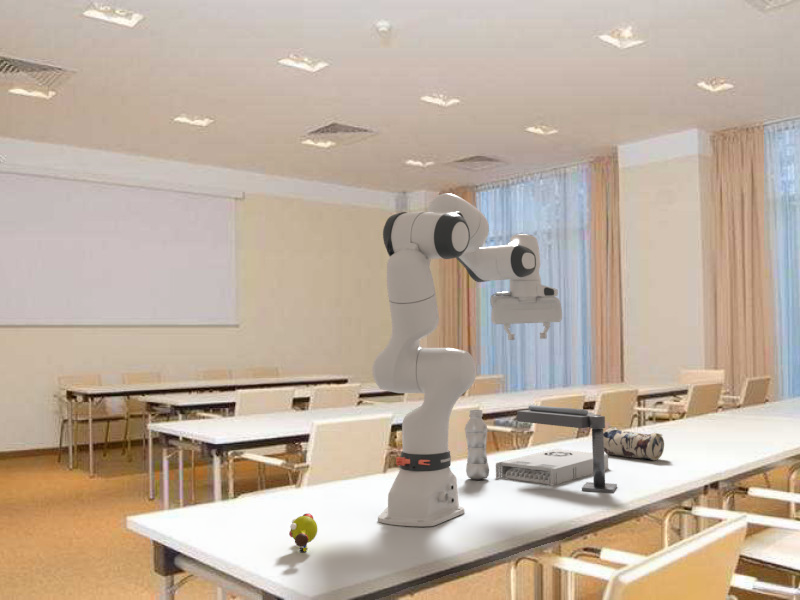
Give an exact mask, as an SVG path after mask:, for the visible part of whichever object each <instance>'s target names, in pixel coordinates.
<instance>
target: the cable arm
mask: <svg viewBox="0 0 800 600" xmlns="http://www.w3.org/2000/svg"><path fill="white" fill-rule="evenodd" d="M516 421H517V422H520V423H529V424H537V425H538V424H540V425H548V426H558V427H567V428H577V429H588V428H589V429H592V428H594V429H606V417H605V415H602V414H595V413H589V411H588V409H584V408H583V409H582V408H570V407H560V406H546V405H537V404H536V405H535V404H530V405H528V409H525V410H523V409H522V410H516Z"/></svg>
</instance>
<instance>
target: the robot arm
mask: <svg viewBox="0 0 800 600" xmlns="http://www.w3.org/2000/svg"><path fill="white" fill-rule="evenodd" d="M489 227H490V226H489V222H488V219H487V217H486V216H485V215H484V213H483V212H481V210H479V209H478V208H477V207H476V206H475V205H473V204H472V203H470V202H468V201H467V200H465V199H463V197H460V196H458V195H456V194H453V193H441V194H438V195H437V196H435V197H434V198H433V199H432V200H431V202H430V204H429V205H428V207H427V210H423V211H413V212H412V211H411V212H406V211H402V212H401V211H400V212H398V213H395V214H392V215H390V216H389V217H388V218H387V220H386V221H385V224H384V226H383V229H382V239H383V245H384V247H385V249H386V251H387V254H388V259H387V262H386V287H387V297H388V302H389V309H390V317H391V318H390V319H391V335H390V339H389V341H388V343H387V345H386V346H385V348H384V349H383V350H381V351H380V353H378V355H377V356H376V357H375V359H374V362H373V364H372V370H371V371H372V377H373V380H374V383H375V384H376V386H377V387H378V389H380V390H381V391H382V390H383V391H387V392H391V393H396V394H422V395H423V396H424V397H423V398H424V399H423V402H422V404H421V405H420V406H418V407H417V408H416V407H415V409H413V410H411V411H410V412H409V411H408V413H407V414H406V415H405V416H404V417H403V420H402V423H401V429H402V430H401V433H402V435H401V436H402V437H401V438H402V442H401V443H402V450H401V452H400V456H396V458H395V464H396V466H398V467H399V471H398V473H397V475H396V477H395V479H394V481H393V483H392V485H391V487H390V489H389V491H388V495H387V507H386V508H385V509H384V510H383V511H382V512H381V513H380V514H379V515H378V517H377V522H379V523H381V524H387V525H394V526H401V527H404V526H407V527H434V526H436V525H440V524H442V523H444V522H446V521H448V520H452V519H453V518H455V517H458V516H460V515H463V514H464V513H465V508H464V507H462V506H460V505H459V491H458V483H457V482H458V481H457V477H456V475H455V474H454V473H453V472H452V470H451V460H452V456H451V451H450V450H449V428H450V427H449V426H450V418H451V413H452V411H453V409H454V407H455V404H456V403H457V402H458V400H459V399H460V397H462V395H463V394H465V392H468V391H469V390H470V388H471V387H472V386H473V385H474V383H475V381H476V378H477V365H476V362H475V359H474V358H473V356H472V355H471V354H470V353H469V351H466V350H463V349H460V348H452V347H421V344H420V343H421V342H420V341H421V340H422V339H424V338H426V337H428V336H429V335H431V334H432V333H433V332H435V330H436V329H437V327H438V326H439V322H440V316H439V310H438V304H437V295H436V289H435V283H434V279H433V274H432V272H431V268H430V266H431V260H438V259H444V260H451V259H456V260H457V261H458V262H459V263H460V264H461V266H463V267H464V269H466V272H467V273H468V275H469V277H470V278H471V279H472V280H473V281H475V282H476V283H485V282H490V281H491V282H492V281H505V280H509V291H502V292H500V291H497V292H494V293H493V294H492V295H491V296H490V306H491V316H490V317H491V318H490V319H491V323H492V324H494V325H503V329H504V330H505V332H506V334H507V340H508V341H514V340H515V339H516V338H515V333H512V332H511V330H510V328H511V325H514V324H516V325H518V324H538V323H539V324H540V323H541V324H542V325H543V327H544V329H543V330H542V332H539V339H540V340H547V337H548V335H547V333H548V332H549V330H550V327H551V323H560V322H561V321H562V319H563V309H562V303H561V300H560V299H559V298H558V297H557V296H558V294H559V291H558V289H556V288H555V287H552V286H551V287H550V286H549V285H544V284H542V278H541V275H540V268H541V256H540V247H539V242H538V239H537V237H536V236H534V235H533V234H528V233H516V234H513V235H511V236H510V239H509V242H508V243H506V244H505V245H504V244H503V245H493V246H492V245H491V246H483V245H484V244H485V242H487V240H488V236H489V232H490V228H489Z"/></svg>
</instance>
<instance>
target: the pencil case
mask: <svg viewBox="0 0 800 600" xmlns="http://www.w3.org/2000/svg"><path fill="white" fill-rule="evenodd" d="M603 433H604V454H608V456H609V455H610V456H615V457H625V458H632V459H640V460H641V459H642V460H650V461H657V460H659V459H660V458H661V457H662V455H664V450H665V449H664V448H665V440H664V437H663V434H662V433H659V432H653V433H649V434H647V433H641V432H631V431H627V430H621V429H618V428H617V427H616V426H614V427H613V425H608V429H606V430H605V431H603Z"/></svg>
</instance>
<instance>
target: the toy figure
mask: <svg viewBox="0 0 800 600" xmlns="http://www.w3.org/2000/svg"><path fill="white" fill-rule="evenodd" d="M289 527H290V530H289V536H290V538H293V540H294V543H295V544H296V545H297V547H299V552H300V553H307V550H308V543H310V542H312V541H313V540H314V539H315V538H316V536H317V534H318V524H317V521H315V519H314V516H313V515H312V514H311V513H304V514H303V515H302V516H301V515H300V516H298V517H296V518H294V519H292V520H291V524H290V526H289Z"/></svg>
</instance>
